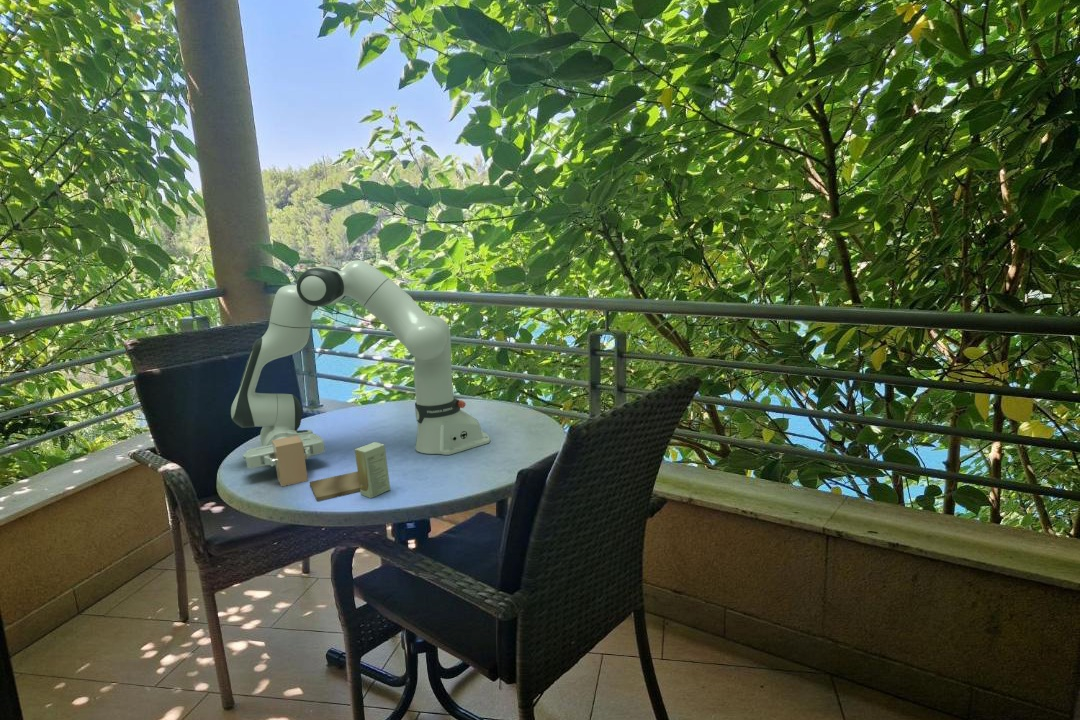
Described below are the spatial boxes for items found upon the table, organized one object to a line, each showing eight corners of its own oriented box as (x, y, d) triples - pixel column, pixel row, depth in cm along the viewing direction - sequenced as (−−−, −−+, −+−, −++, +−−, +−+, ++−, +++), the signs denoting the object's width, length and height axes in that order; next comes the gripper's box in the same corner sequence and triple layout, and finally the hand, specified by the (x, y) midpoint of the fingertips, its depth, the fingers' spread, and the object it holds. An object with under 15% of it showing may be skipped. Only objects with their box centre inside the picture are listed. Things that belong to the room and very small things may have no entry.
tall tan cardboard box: (303, 473, 172) (297, 435, 170) (307, 480, 166) (302, 441, 164) (277, 479, 169) (272, 440, 167) (281, 486, 163) (275, 446, 161)
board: (360, 474, 169) (359, 470, 169) (370, 489, 159) (370, 485, 158) (310, 485, 163) (309, 481, 163) (317, 501, 153) (316, 497, 152)
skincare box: (380, 486, 160) (375, 441, 158) (391, 490, 157) (386, 444, 155) (359, 495, 155) (353, 448, 153) (369, 499, 152) (364, 451, 150)
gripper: (240, 443, 172) (245, 457, 160) (316, 428, 182) (327, 440, 170) (243, 465, 173) (249, 480, 161) (319, 449, 183) (330, 462, 171)
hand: (290, 459), depth 166 cm, fingers closed on tall tan cardboard box, 7 cm apart
